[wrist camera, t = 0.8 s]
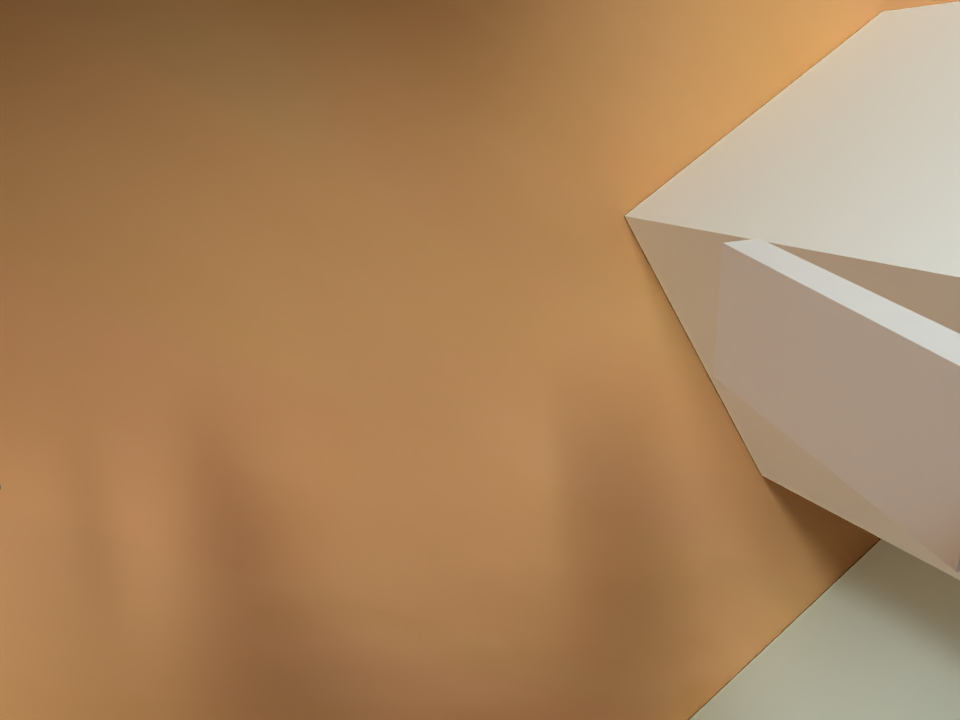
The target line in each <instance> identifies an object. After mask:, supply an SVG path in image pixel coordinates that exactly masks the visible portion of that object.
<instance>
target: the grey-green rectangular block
mask: <svg viewBox="0 0 960 720" xmlns="http://www.w3.org/2000/svg"><path fill="white" fill-rule="evenodd" d="M689 720H960V580H958V579H956V578H954V577H953V576H951V575H949V574H947V573H945V572H943V571H941V570H939V569H937V568H936V567H934V566H932V565H930V564H928V563H926V562H924V561H922V560H920V559H919V558H917V557H915V556H913V555H911V554H909V553H907V552H905V551H903V550H902V549H900V548H898V547H896V546H894V545H892V544H890V543H888V542H886V541H885V540H883V539H881V540H880V541H879V542H878V543H876V544H875V545H874V546H873V547H872V548H871V549H870V550H869V551H868V552H867V553H866V554H865V555H864V556H863V557H862V558H861V559H859V560H858V561H857V562H856V563H855V564H854V565H853V566H852V567H851V568H850V569H849V570H848V571H847V572H846V573H845V574H844V575H842V576H841V577H840V578H839V579H838V580H837V581H836V582H835V583H834V584H833V585H832V586H831V587H830V588H829V589H828V590H826V591H825V592H824V593H823V594H822V595H821V596H820V597H819V598H818V599H817V600H816V601H815V602H814V603H813V604H812V605H811V606H809V607H808V608H807V609H806V610H805V611H804V612H803V613H802V614H801V615H800V616H799V617H798V618H797V619H796V620H795V621H794V622H792V623H791V624H790V625H789V626H788V627H787V628H786V629H785V630H784V631H783V632H782V633H781V634H780V635H779V636H778V637H777V638H775V639H774V640H773V641H772V642H771V643H770V644H769V645H768V646H767V647H766V648H765V649H764V650H763V651H762V652H761V653H760V654H758V655H757V656H756V657H755V658H754V659H753V660H752V661H751V662H750V663H749V664H748V665H747V666H746V667H745V668H744V669H743V670H741V671H740V672H739V673H738V674H737V675H736V676H735V677H734V678H733V679H732V680H731V681H730V682H729V683H728V684H727V685H725V686H724V687H723V688H722V689H721V690H720V691H719V692H718V693H717V694H716V695H715V696H714V697H713V698H712V699H711V700H710V701H708V702H707V703H706V704H705V705H704V706H703V707H702V708H701V709H700V710H699V711H698V712H697V713H696V714H695V715H694V716H693V717H691V718H690V719H689Z"/></svg>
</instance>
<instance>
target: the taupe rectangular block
mask: <svg viewBox="0 0 960 720" xmlns="http://www.w3.org/2000/svg"><path fill="white" fill-rule="evenodd" d="M625 218H626V220H627V222H628V224H629V226H630V228H631V229H632V231H633V233H634V235H635V237H636V239H637V241H638V243H639V245H640V246H641V248H642V250H643V252H644V254H645V256H646V258H647V260H648V262H649V263H650V265H651V267H652V269H653V271H654V273H655V275H656V277H657V279H658V280H659V282H660V284H661V286H662V288H663V290H664V292H665V294H666V296H667V297H668V299H669V301H670V303H671V305H672V307H673V309H674V311H675V313H676V314H677V316H678V318H679V320H680V322H681V324H682V326H683V328H684V330H685V332H686V333H687V335H688V337H689V339H690V341H691V343H692V345H693V347H694V349H695V350H696V352H697V354H698V356H699V358H700V360H701V362H702V364H703V366H704V367H705V369H706V371H707V373H708V375H709V377H710V379H711V381H712V383H713V384H714V386H715V388H716V390H717V392H718V394H719V396H720V398H721V400H722V401H723V403H724V405H725V407H726V409H727V411H728V413H729V415H730V417H731V418H732V420H733V422H734V424H735V426H736V428H737V430H738V432H739V434H740V435H741V437H742V439H743V441H744V443H745V445H746V447H747V449H748V451H749V452H750V454H751V456H752V458H753V460H754V462H755V464H756V466H757V468H758V469H759V471H760V473H761V475H762V476H764V477H766V478H768V479H769V480H771V481H773V482H775V483H777V484H779V485H781V486H783V487H785V488H786V489H788V490H790V491H792V492H794V493H796V494H798V495H800V496H802V497H803V498H805V499H807V500H809V501H811V502H813V503H815V504H817V505H819V506H820V507H822V508H824V509H826V510H828V511H830V512H832V513H834V514H835V515H837V516H839V517H841V518H843V519H845V520H847V521H849V522H851V523H852V524H854V525H856V526H858V527H860V528H862V529H864V530H866V531H868V532H869V533H871V534H873V535H875V536H877V537H879V538H881V539H883V540H885V541H886V542H888V543H890V544H892V545H894V546H896V547H898V548H900V549H902V550H903V551H905V552H907V553H909V554H911V555H913V556H915V557H917V558H919V559H920V560H922V561H924V562H926V563H928V564H930V565H932V566H934V567H936V568H937V569H939V570H941V571H943V572H945V573H947V574H949V575H951V576H953V577H954V578H956V579H958V580H960V571H959V572H956V571H955V570H953V569H952V568H951V567H950V566H948V565H947V564H946V563H945V562H943V561H942V560H941V559H940V558H939V557H937V556H936V555H935V554H934V553H932V552H931V551H930V550H929V549H927V548H926V547H925V546H924V545H922V544H921V543H920V542H919V541H917V540H916V539H915V538H914V537H912V536H911V535H910V534H909V533H907V532H906V531H905V530H904V529H902V528H901V527H900V526H899V525H897V524H896V523H895V522H894V521H892V520H891V519H890V518H889V517H887V516H886V515H885V514H884V513H883V512H881V511H880V510H879V509H878V508H876V507H875V506H874V505H873V504H871V503H870V502H869V501H868V500H866V499H865V498H864V497H863V496H861V495H860V494H859V493H858V492H856V491H855V490H854V489H853V488H851V487H850V486H849V485H848V484H846V483H845V482H844V481H843V480H841V479H840V478H839V477H838V476H836V475H835V474H834V473H833V472H831V471H830V470H829V469H828V468H827V467H825V466H824V465H823V464H822V463H820V462H819V461H818V460H817V459H815V458H814V457H813V456H812V455H810V454H809V453H808V452H807V451H805V450H804V449H803V448H802V447H800V446H799V445H798V444H797V443H795V442H794V441H793V440H792V439H790V438H789V437H788V436H787V435H785V434H784V433H783V432H782V431H780V430H779V429H778V428H777V427H775V426H774V425H773V424H772V423H771V422H769V421H768V420H767V419H766V418H764V417H763V416H762V415H761V414H759V413H758V412H757V411H756V410H754V409H753V408H752V407H751V406H749V405H748V404H747V403H746V402H744V401H743V400H742V399H741V398H739V397H738V396H737V395H736V394H734V393H733V392H732V391H731V390H729V389H728V388H727V387H726V386H724V385H723V384H722V383H721V382H720V381H718V380H717V379H716V378H715V377H713V371H714V357H715V344H716V330H717V316H718V302H719V288H720V274H721V260H722V246H723V243H725V242H733V241H742V240H750V239H758V238H760V239H762V240H764V241H766V242H768V243H770V244H772V245H774V246H776V247H778V248H781V249H783V250H785V251H787V252H789V253H791V254H793V255H795V256H797V257H799V258H802V259H804V260H806V261H808V262H810V263H812V264H814V265H816V266H818V267H820V268H823V269H825V270H827V271H829V272H831V273H833V274H835V275H837V276H839V277H841V278H844V279H846V280H848V281H850V282H852V283H854V284H856V285H858V286H860V287H862V288H865V289H867V290H869V291H871V292H873V293H875V294H877V295H879V296H881V297H883V298H886V299H888V300H890V301H892V302H894V303H896V304H898V305H900V306H902V307H904V308H907V309H909V310H911V311H913V312H915V313H917V314H919V315H921V316H923V317H925V318H928V319H930V320H932V321H934V322H936V323H938V324H940V325H942V326H944V327H946V328H949V329H951V330H953V331H955V332H957V333H959V334H960V1H958V2H951V3H943V4H936V5H928V6H920V7H913V8H905V9H898V10H890V11H883V12H881V13H880V14H879V15H877V16H876V17H875V18H874V19H872V20H871V21H870V22H868V23H867V24H866V25H865V26H863V27H862V28H861V29H860V30H858V31H857V32H856V33H855V34H853V35H852V36H851V37H850V38H848V39H847V40H846V41H844V42H843V43H842V44H841V45H839V46H838V47H837V48H836V49H834V50H833V51H832V52H831V53H829V54H828V55H827V56H826V57H824V58H823V59H822V60H821V61H819V62H818V63H817V64H815V65H814V66H813V67H812V68H810V69H809V70H808V71H807V72H805V73H804V74H803V75H802V76H800V77H799V78H798V79H797V80H795V81H794V82H793V83H791V84H790V85H789V86H788V87H786V88H785V89H784V90H783V91H781V92H780V93H779V94H778V95H776V96H775V97H774V98H773V99H771V100H770V101H769V102H767V103H766V104H765V105H764V106H762V107H761V108H760V109H759V110H757V111H756V112H755V113H754V114H752V115H751V116H750V117H749V118H747V119H746V120H745V121H743V122H742V123H741V124H740V125H738V126H737V127H736V128H735V129H733V130H732V131H731V132H730V133H728V134H727V135H726V136H725V137H723V138H722V139H721V140H719V141H718V142H717V143H716V144H714V145H713V146H712V147H711V148H709V149H708V150H707V151H706V152H704V153H703V154H702V155H701V156H699V157H698V158H697V159H696V160H694V161H693V162H692V163H690V164H689V165H688V166H687V167H685V168H684V169H683V170H682V171H680V172H679V173H678V174H677V175H675V176H674V177H673V178H672V179H670V180H669V181H668V182H666V183H665V184H664V185H663V186H661V187H660V188H659V189H658V190H656V191H655V192H654V193H653V194H651V195H650V196H649V197H648V198H646V199H645V200H644V201H642V202H641V203H640V204H639V205H637V206H636V207H635V208H634V209H632V210H631V211H630V212H629V213H627V214H626V215H625Z"/></svg>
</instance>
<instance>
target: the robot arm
mask: <svg viewBox="0 0 960 720" xmlns="http://www.w3.org/2000/svg"><path fill="white" fill-rule="evenodd" d="M713 377H715V378H716V379H717V380H718V381H720V382H721V383H722V384H723V385H724V386H726V387H727V388H728V389H729V390H731V391H732V392H733V393H734V394H736V395H737V396H738V397H739V398H741V399H742V400H743V401H744V402H746V403H747V404H748V405H749V406H751V407H752V408H753V409H754V410H756V411H757V412H758V413H759V414H761V415H762V416H763V417H764V418H766V419H767V420H768V421H769V422H771V423H772V424H773V425H774V426H775V427H777V428H778V429H779V430H780V431H782V432H783V433H784V434H785V435H787V436H788V437H789V438H790V439H792V440H793V441H794V442H795V443H797V444H798V445H799V446H800V447H802V448H803V449H804V450H805V451H807V452H808V453H809V454H810V455H812V456H813V457H814V458H815V459H817V460H818V461H819V462H820V463H822V464H823V465H824V466H825V467H827V468H828V469H829V470H830V471H831V472H833V473H834V474H835V475H836V476H838V477H839V478H840V479H841V480H843V481H844V482H845V483H846V484H848V485H849V486H850V487H851V488H853V489H854V490H855V491H856V492H858V493H859V494H860V495H861V496H863V497H864V498H865V499H866V500H868V501H869V502H870V503H871V504H873V505H874V506H875V507H876V508H878V509H879V510H880V511H881V512H883V513H884V514H885V515H886V516H887V517H889V518H890V519H891V520H892V521H894V522H895V523H896V524H897V525H899V526H900V527H901V528H902V529H904V530H905V531H906V532H907V533H909V534H910V535H911V536H912V537H914V538H915V539H916V540H917V541H919V542H920V543H921V544H922V545H924V546H925V547H926V548H927V549H929V550H930V551H931V552H932V553H934V554H935V555H936V556H937V557H939V558H940V559H941V560H942V561H943V562H945V563H946V564H947V565H948V566H950V567H951V568H952V569H953V570H955V571H956V572H959V571H960V334H959V333H957V332H955V331H953V330H951V329H949V328H946V327H944V326H942V325H940V324H938V323H936V322H934V321H932V320H930V319H928V318H925V317H923V316H921V315H919V314H917V313H915V312H913V311H911V310H909V309H907V308H904V307H902V306H900V305H898V304H896V303H894V302H892V301H890V300H888V299H886V298H883V297H881V296H879V295H877V294H875V293H873V292H871V291H869V290H867V289H865V288H862V287H860V286H858V285H856V284H854V283H852V282H850V281H848V280H846V279H844V278H841V277H839V276H837V275H835V274H833V273H831V272H829V271H827V270H825V269H823V268H820V267H818V266H816V265H814V264H812V263H810V262H808V261H806V260H804V259H802V258H799V257H797V256H795V255H793V254H791V253H789V252H787V251H785V250H783V249H781V248H778V247H776V246H774V245H772V244H770V243H768V242H766V241H764V240H762V239H760V238H758V239H750V240H742V241H733V242H725V243H723V246H722V260H721V274H720V288H719V302H718V316H717V330H716V344H715V357H714V371H713ZM0 489H1V484H0Z"/></svg>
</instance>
